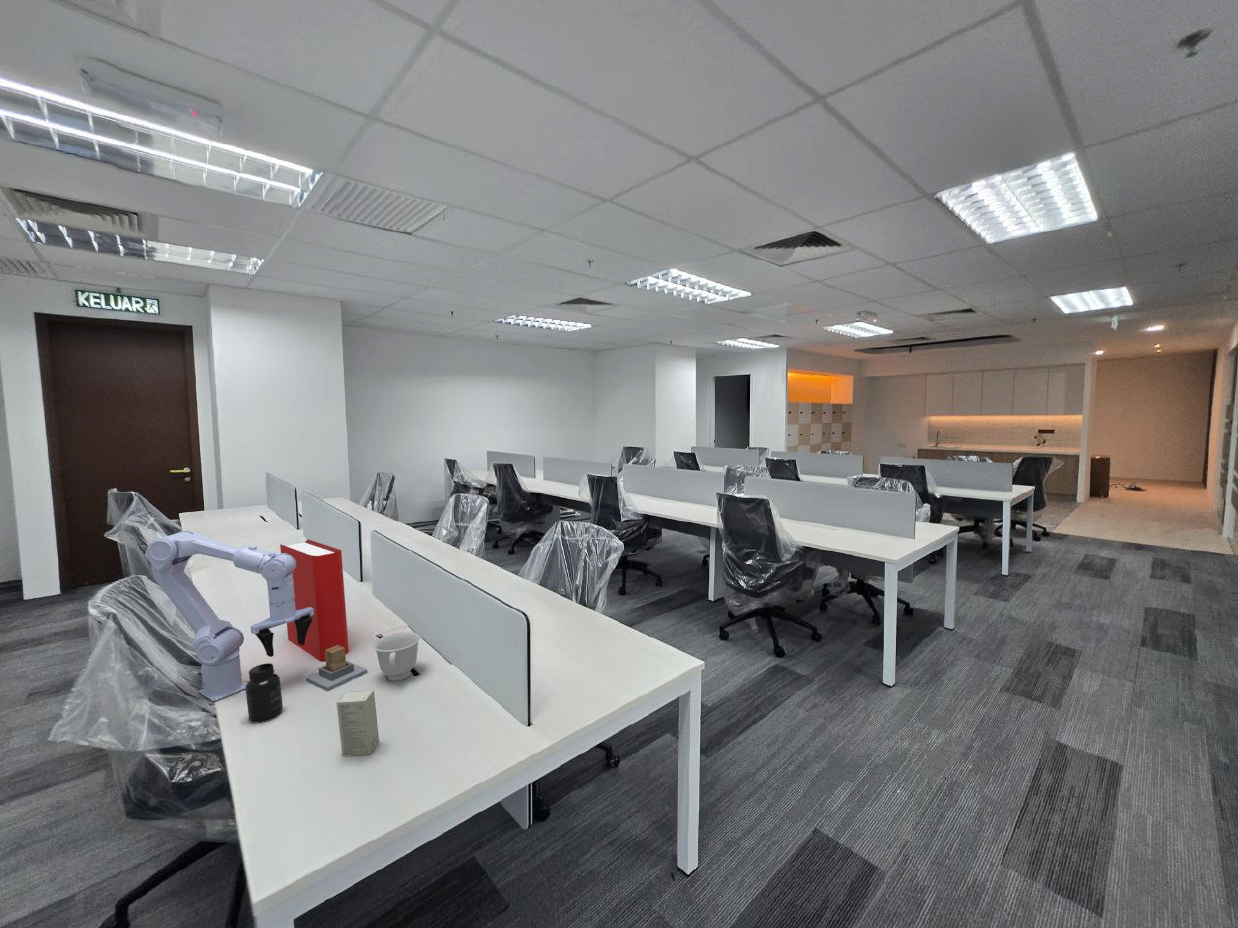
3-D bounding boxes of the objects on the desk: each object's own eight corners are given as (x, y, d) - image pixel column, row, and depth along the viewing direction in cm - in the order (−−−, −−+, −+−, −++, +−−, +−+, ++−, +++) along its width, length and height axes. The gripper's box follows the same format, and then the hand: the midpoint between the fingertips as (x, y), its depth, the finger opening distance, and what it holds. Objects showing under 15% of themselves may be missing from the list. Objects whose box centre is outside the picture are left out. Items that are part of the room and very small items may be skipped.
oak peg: (326, 674, 138) (324, 650, 137) (339, 668, 141) (337, 644, 140) (333, 677, 136) (332, 652, 135) (346, 671, 139) (344, 647, 138)
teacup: (368, 695, 128) (365, 658, 127) (379, 668, 142) (377, 634, 142) (418, 688, 131) (416, 651, 130) (424, 662, 146) (422, 629, 145)
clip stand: (305, 680, 137) (304, 670, 136) (345, 663, 146) (344, 653, 146) (327, 691, 131) (326, 680, 131) (367, 672, 140) (366, 662, 140)
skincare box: (379, 742, 109) (376, 689, 108) (370, 755, 105) (366, 700, 104) (350, 743, 109) (346, 690, 108) (339, 756, 105) (335, 701, 104)
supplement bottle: (277, 703, 125) (273, 658, 124) (287, 713, 121) (283, 666, 120) (244, 716, 120) (240, 669, 119) (253, 727, 116) (248, 677, 115)
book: (288, 639, 164) (280, 544, 161) (314, 631, 170) (307, 539, 167) (322, 663, 147) (314, 556, 144) (350, 652, 153) (343, 550, 150)
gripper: (258, 612, 124) (262, 664, 125) (318, 594, 136) (322, 642, 138) (245, 607, 128) (249, 658, 129) (304, 590, 140) (308, 637, 141)
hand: (286, 649), depth 134 cm, fingers open, 7 cm apart
